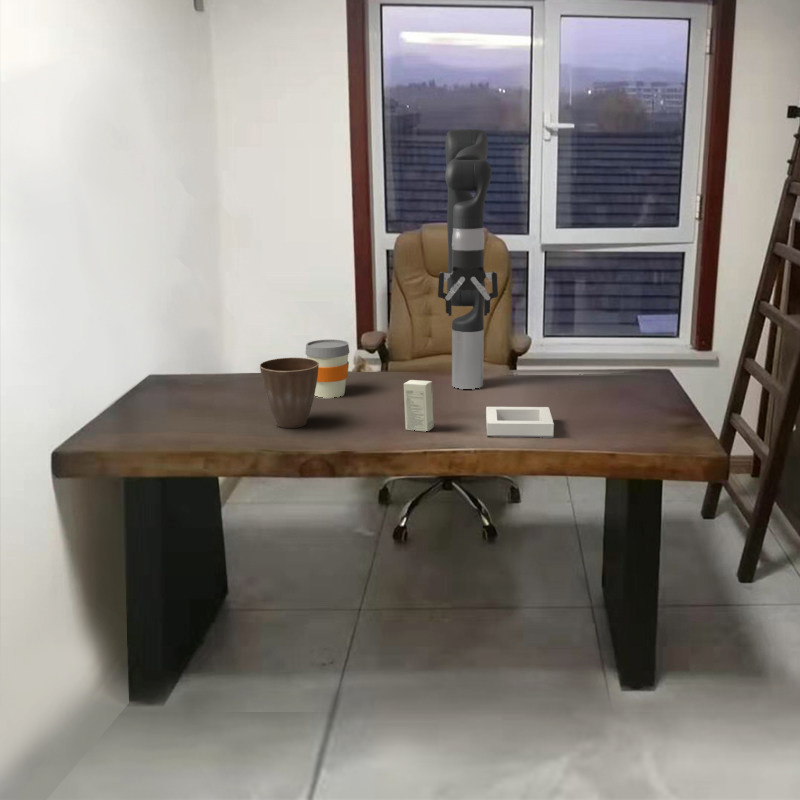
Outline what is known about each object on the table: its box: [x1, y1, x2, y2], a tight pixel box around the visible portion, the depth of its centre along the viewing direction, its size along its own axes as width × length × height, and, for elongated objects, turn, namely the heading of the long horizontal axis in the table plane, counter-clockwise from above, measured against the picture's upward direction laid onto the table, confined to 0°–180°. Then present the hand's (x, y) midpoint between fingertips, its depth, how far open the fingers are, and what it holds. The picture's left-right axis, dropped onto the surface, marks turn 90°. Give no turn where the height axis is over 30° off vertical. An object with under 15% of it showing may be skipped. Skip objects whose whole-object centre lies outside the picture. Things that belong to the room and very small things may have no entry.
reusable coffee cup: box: [305, 339, 350, 399], centre depth 260 cm, size 13×13×15 cm
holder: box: [485, 406, 555, 439], centre depth 226 cm, size 15×16×4 cm
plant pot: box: [259, 357, 319, 429], centre depth 231 cm, size 15×15×16 cm
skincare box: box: [403, 379, 435, 432], centre depth 226 cm, size 6×4×12 cm
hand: (467, 315), depth 217 cm, fingers open, 8 cm apart
